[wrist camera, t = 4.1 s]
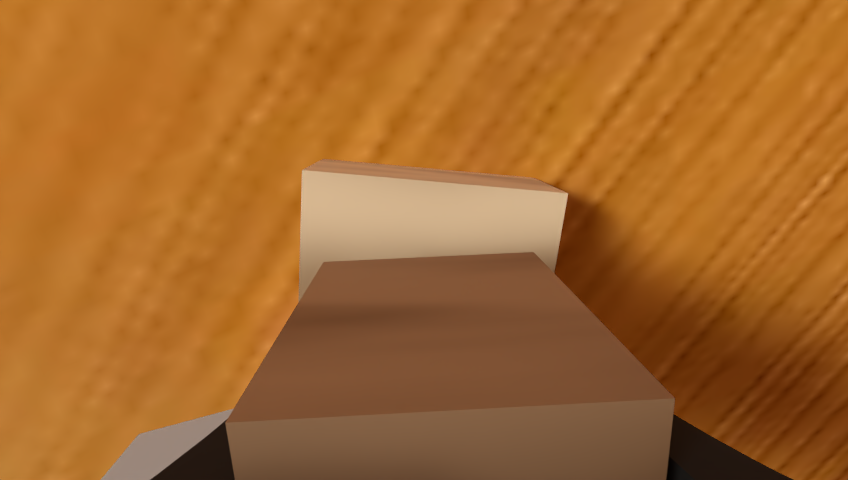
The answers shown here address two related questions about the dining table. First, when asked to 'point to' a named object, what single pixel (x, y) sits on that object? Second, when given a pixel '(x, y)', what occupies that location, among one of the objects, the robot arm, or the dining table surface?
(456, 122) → the dining table surface
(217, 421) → the slate block
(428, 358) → the walnut block
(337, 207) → the base block
